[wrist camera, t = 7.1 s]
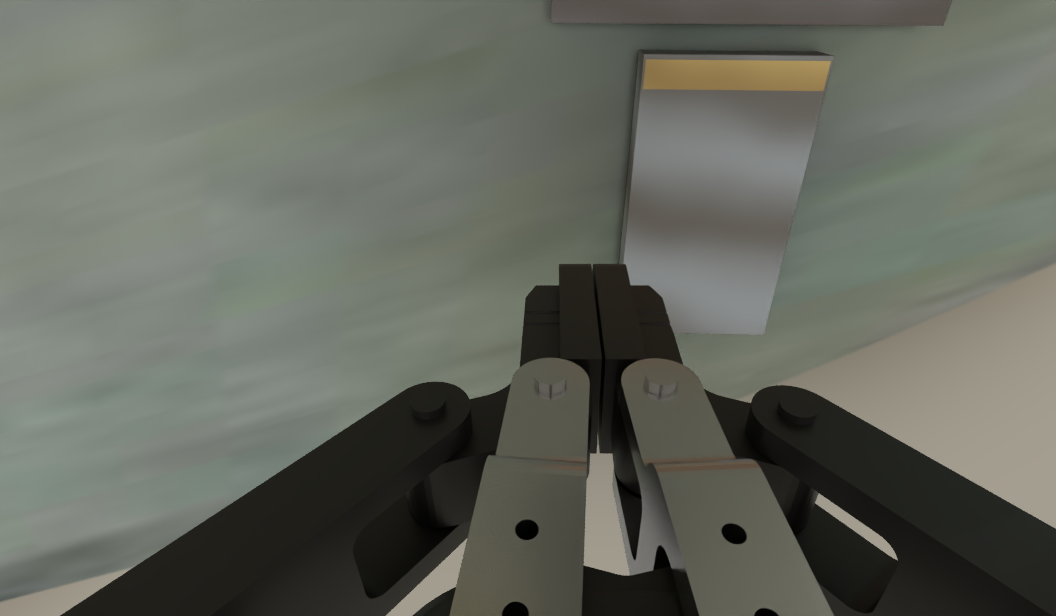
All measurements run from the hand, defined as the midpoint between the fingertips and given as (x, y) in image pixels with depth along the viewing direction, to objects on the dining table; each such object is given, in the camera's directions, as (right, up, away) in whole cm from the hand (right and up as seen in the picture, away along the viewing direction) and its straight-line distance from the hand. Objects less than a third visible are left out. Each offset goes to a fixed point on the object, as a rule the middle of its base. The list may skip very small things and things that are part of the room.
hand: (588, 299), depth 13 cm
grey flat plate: (+8, +5, +16) cm, 18 cm away
